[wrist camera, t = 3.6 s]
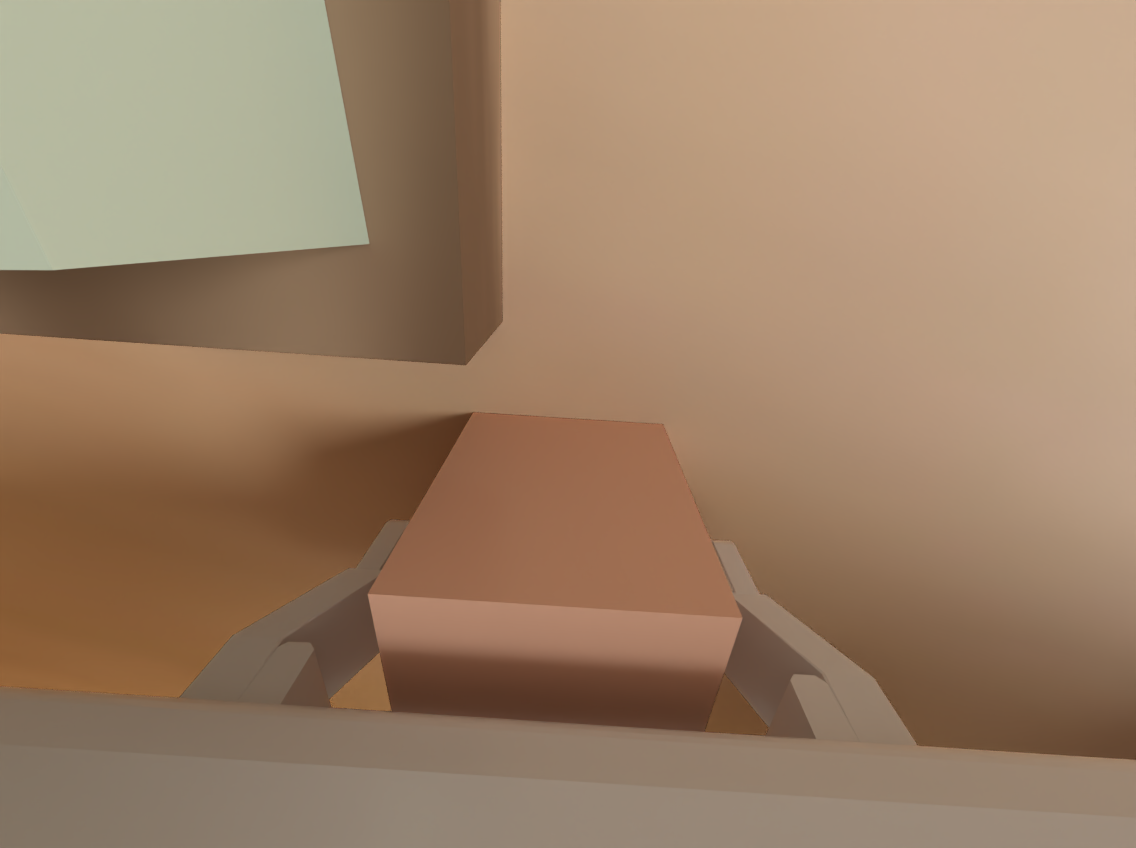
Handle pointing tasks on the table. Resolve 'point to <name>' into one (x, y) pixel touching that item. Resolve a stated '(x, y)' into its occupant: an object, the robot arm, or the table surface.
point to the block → (557, 582)
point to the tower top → (170, 132)
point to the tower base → (391, 209)
